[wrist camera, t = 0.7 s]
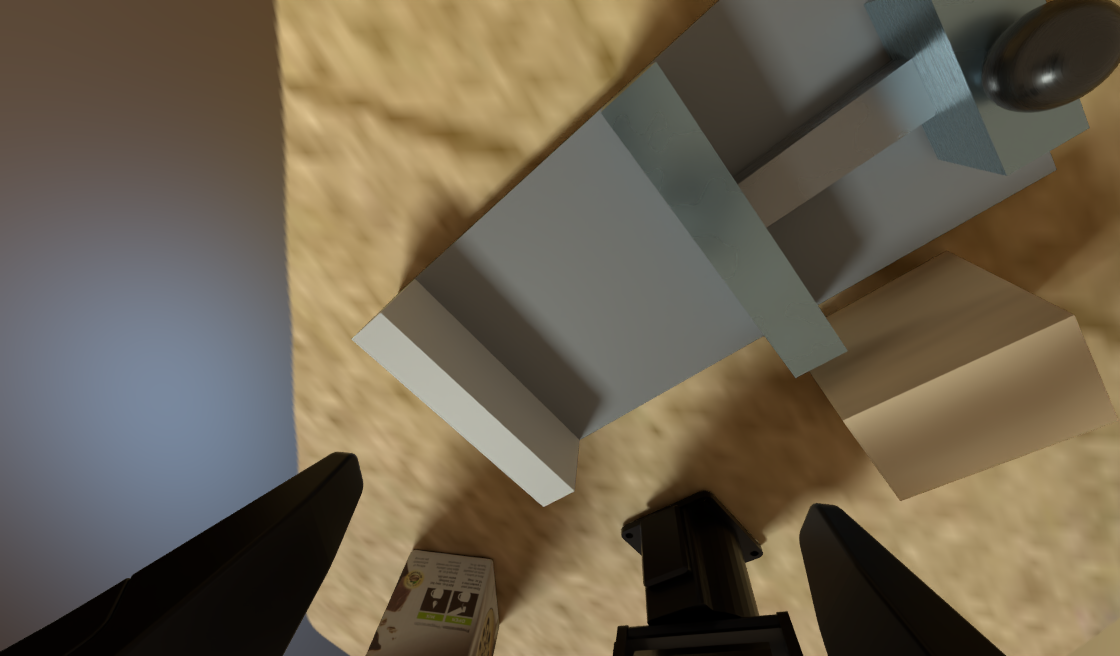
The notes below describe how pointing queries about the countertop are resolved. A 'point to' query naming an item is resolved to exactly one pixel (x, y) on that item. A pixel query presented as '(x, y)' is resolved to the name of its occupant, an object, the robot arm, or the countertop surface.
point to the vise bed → (657, 247)
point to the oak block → (959, 375)
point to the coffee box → (440, 608)
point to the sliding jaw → (874, 135)
